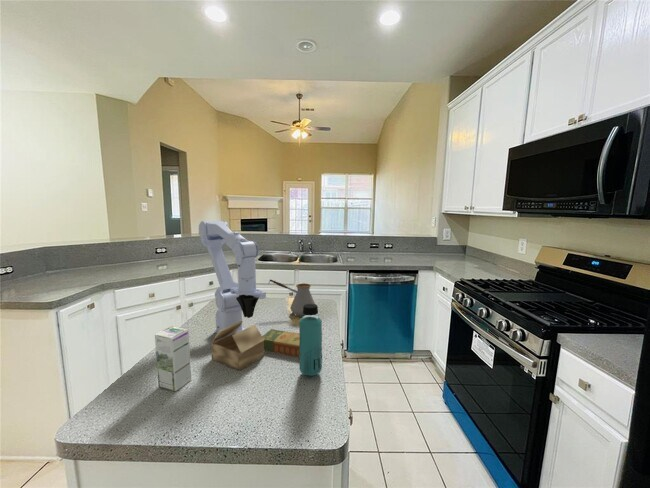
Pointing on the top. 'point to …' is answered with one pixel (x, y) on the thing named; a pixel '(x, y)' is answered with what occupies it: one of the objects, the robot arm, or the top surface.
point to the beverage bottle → (310, 341)
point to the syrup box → (173, 358)
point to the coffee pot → (299, 297)
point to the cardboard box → (235, 353)
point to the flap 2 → (247, 338)
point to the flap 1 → (226, 331)
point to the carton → (282, 342)
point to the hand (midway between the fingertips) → (248, 316)
